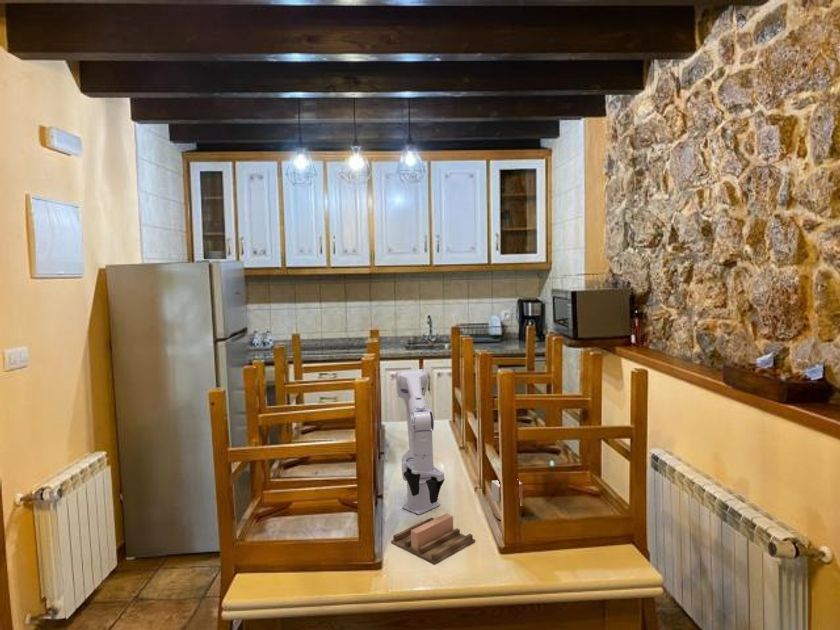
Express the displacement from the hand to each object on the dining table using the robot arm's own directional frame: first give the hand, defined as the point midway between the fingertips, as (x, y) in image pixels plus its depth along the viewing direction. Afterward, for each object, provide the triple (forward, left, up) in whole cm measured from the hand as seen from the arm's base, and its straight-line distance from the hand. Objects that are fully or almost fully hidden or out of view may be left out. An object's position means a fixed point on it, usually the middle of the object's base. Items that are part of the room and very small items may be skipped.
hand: (424, 498), depth 164 cm
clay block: (+4, +7, -9) cm, 12 cm away
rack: (+4, +7, -9) cm, 12 cm away
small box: (-23, +12, -10) cm, 28 cm away
